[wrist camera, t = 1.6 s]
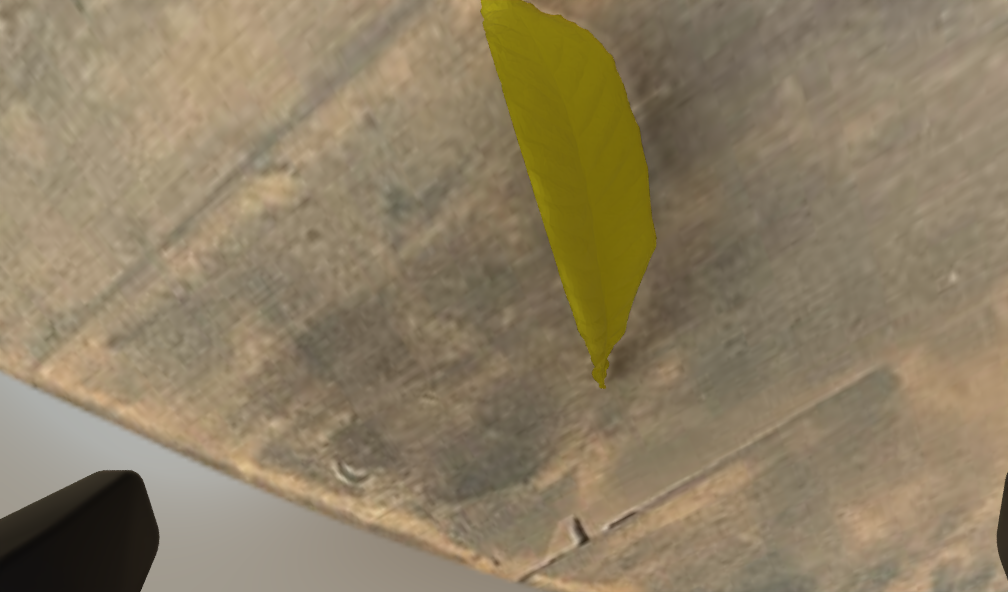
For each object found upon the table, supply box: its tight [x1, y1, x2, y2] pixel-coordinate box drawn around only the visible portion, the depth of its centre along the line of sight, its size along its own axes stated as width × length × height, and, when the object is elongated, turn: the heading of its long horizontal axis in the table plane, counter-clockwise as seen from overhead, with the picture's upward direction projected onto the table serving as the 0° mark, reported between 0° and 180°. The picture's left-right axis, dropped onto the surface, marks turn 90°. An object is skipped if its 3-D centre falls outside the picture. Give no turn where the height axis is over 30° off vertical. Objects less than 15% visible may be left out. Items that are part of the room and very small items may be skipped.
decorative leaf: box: [480, 0, 657, 389], centre depth 18 cm, size 10×2×3 cm, turn 18°
